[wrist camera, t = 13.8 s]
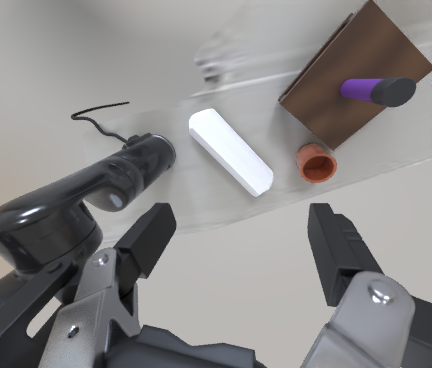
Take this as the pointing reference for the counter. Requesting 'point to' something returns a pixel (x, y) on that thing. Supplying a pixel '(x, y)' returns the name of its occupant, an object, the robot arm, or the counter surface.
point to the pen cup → (315, 163)
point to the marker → (380, 90)
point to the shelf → (351, 74)
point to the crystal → (231, 151)
